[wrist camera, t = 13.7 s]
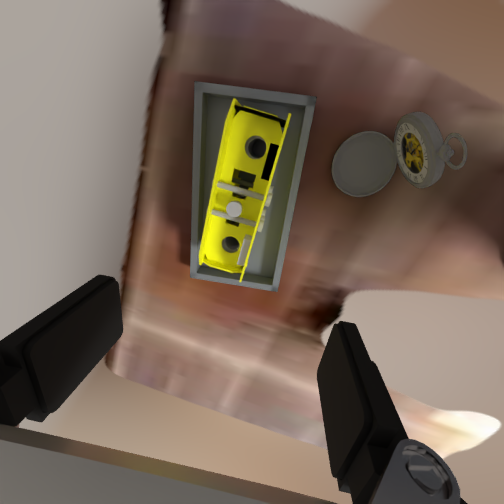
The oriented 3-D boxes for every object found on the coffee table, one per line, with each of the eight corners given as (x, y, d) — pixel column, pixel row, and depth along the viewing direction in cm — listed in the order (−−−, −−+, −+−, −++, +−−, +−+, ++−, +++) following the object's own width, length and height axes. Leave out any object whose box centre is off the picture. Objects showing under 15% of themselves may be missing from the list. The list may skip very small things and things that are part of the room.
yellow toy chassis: (251, 257, 31) (243, 291, 24) (210, 244, 31) (188, 275, 23) (292, 124, 25) (299, 112, 17) (239, 108, 25) (222, 89, 17)
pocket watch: (317, 173, 27) (338, 186, 18) (372, 100, 24) (432, 69, 15) (372, 214, 28) (418, 245, 19) (431, 149, 25) (521, 149, 16)
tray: (313, 101, 24) (316, 96, 22) (277, 281, 33) (277, 291, 31) (202, 87, 25) (194, 81, 22) (196, 268, 33) (190, 277, 31)
